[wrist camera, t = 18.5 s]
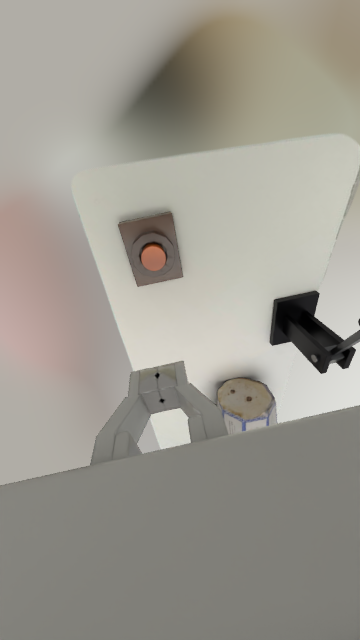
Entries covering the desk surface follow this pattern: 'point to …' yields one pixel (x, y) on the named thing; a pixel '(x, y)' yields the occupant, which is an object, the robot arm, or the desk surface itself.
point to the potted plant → (246, 405)
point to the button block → (151, 232)
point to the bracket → (306, 330)
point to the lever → (343, 346)
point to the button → (153, 257)
